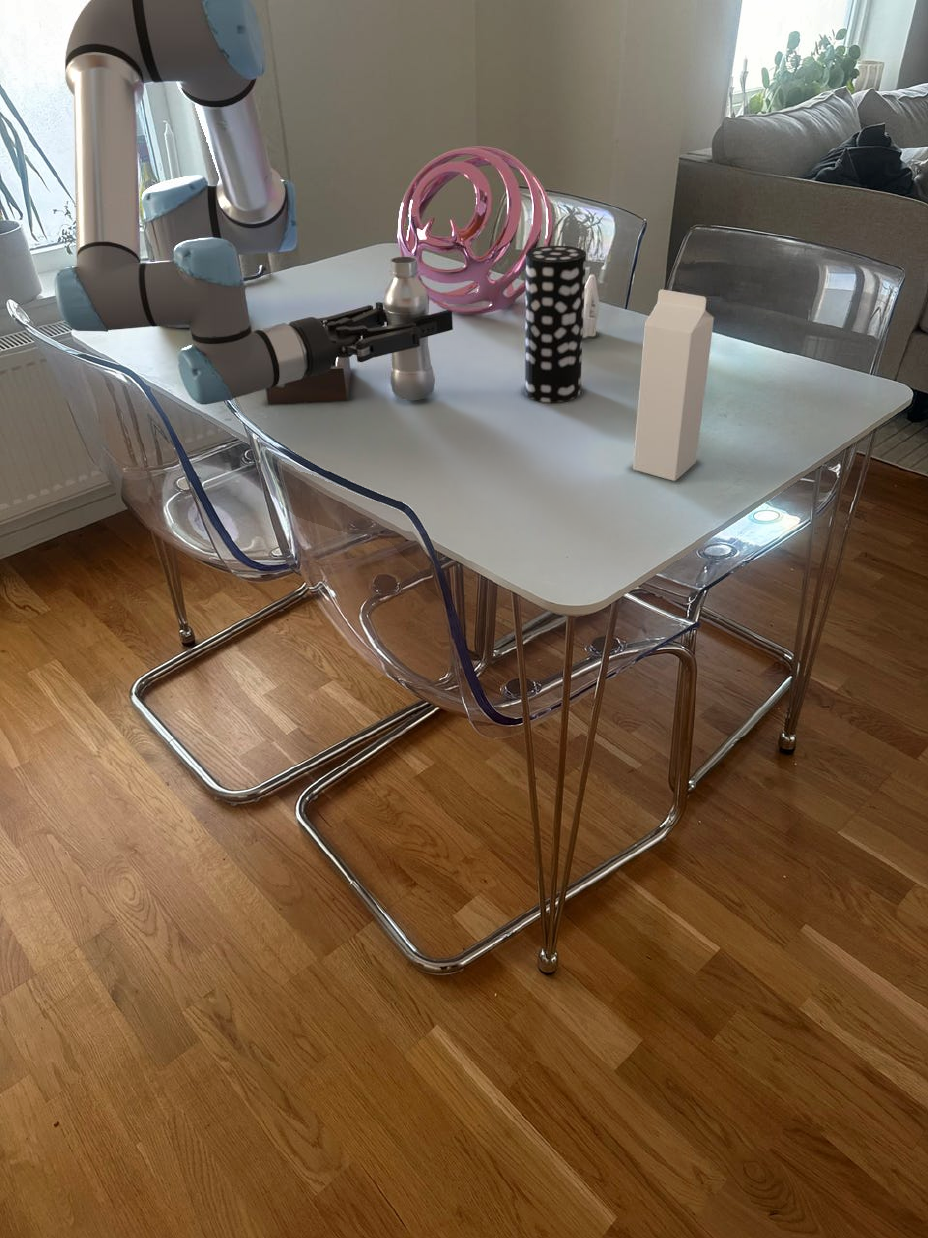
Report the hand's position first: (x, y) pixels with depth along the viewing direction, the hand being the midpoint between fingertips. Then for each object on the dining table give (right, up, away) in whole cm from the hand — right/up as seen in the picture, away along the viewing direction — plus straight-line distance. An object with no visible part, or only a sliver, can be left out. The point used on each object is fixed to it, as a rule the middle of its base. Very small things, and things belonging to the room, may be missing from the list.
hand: (437, 313), depth 134 cm
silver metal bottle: (-4, -11, +5) cm, 13 cm away
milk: (+30, -25, -16) cm, 42 cm away
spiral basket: (+5, +13, +37) cm, 40 cm away
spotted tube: (+17, -10, +4) cm, 21 cm away
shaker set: (+22, +2, +21) cm, 31 cm away
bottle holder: (-20, -8, +9) cm, 24 cm away
